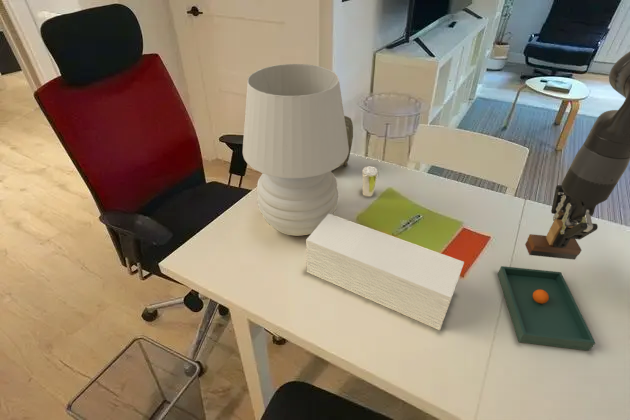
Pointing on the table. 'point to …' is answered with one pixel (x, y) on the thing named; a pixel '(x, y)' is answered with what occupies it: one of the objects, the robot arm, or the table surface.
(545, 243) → the brush
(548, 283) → the tray
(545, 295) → the ball
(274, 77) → the table lamp
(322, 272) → the stack of papers
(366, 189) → the milkshake
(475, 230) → the table surface
